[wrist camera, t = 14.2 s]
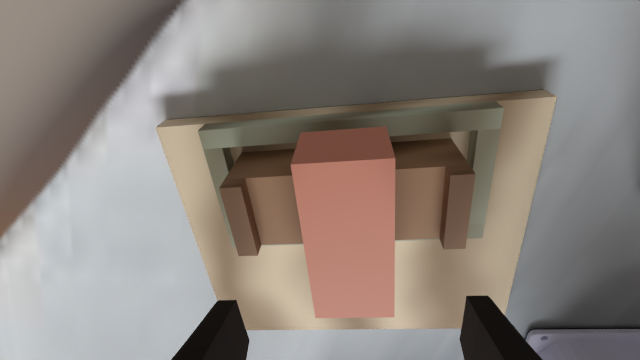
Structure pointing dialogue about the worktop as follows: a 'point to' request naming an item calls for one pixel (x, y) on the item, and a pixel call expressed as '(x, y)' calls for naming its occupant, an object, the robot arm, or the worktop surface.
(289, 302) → the jig
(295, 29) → the worktop surface
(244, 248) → the brown u-shaped block
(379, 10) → the worktop surface
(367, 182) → the pink rectangular block
